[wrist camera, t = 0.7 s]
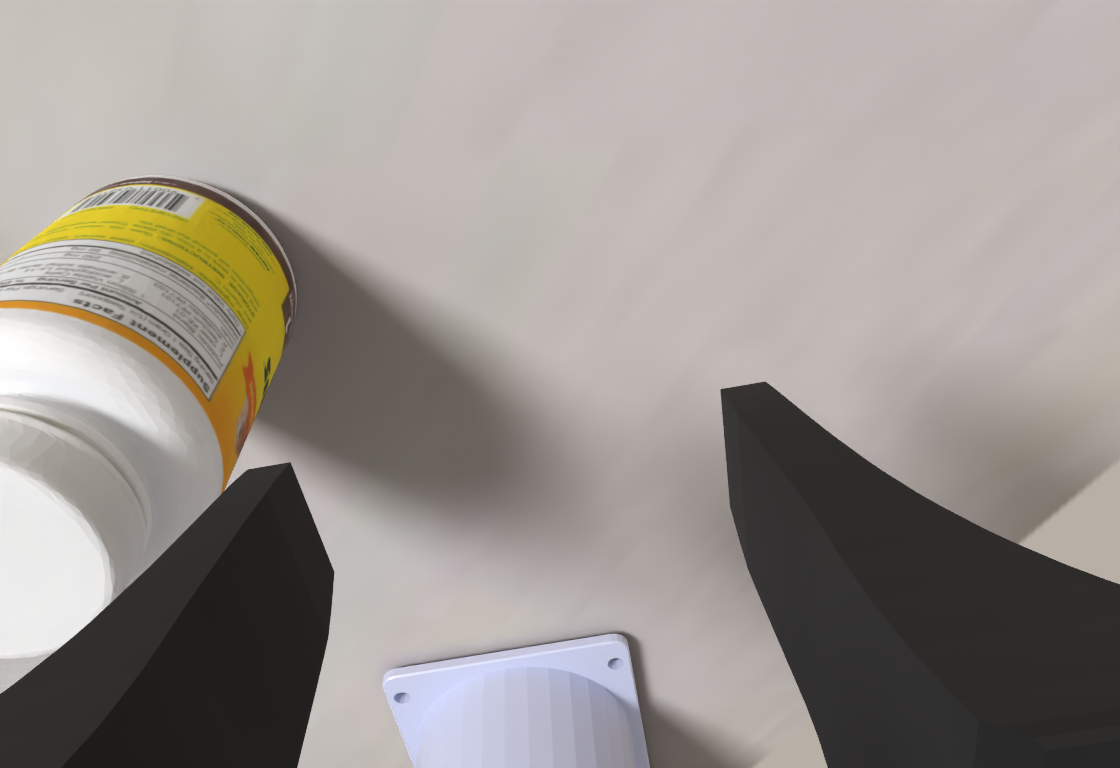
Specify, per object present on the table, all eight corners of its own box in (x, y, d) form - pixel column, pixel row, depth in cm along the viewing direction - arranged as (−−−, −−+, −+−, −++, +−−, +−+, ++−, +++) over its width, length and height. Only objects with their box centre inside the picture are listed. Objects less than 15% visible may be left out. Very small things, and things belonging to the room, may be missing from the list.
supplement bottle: (201, 414, 23) (22, 746, 15) (16, 264, 21) (-331, 554, 12) (352, 291, 22) (252, 580, 13) (170, 114, 20) (-100, 323, 11)
